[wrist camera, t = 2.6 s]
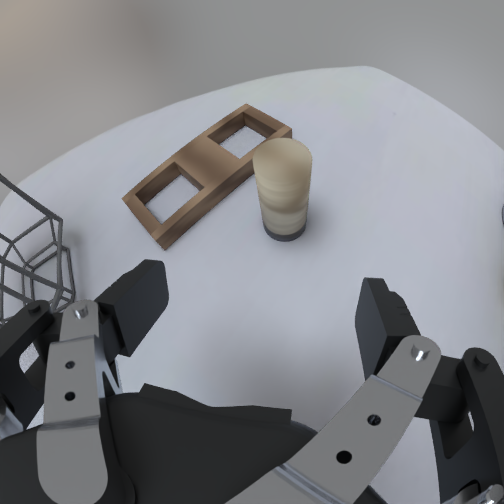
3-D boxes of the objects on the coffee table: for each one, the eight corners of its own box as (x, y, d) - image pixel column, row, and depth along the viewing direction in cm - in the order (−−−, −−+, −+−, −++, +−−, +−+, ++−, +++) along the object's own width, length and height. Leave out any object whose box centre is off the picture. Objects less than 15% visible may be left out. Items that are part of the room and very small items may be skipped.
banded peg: (283, 197, 30) (280, 130, 21) (314, 221, 29) (324, 157, 20) (254, 223, 30) (240, 160, 20) (285, 249, 28) (284, 192, 19)
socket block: (248, 116, 36) (246, 103, 34) (292, 142, 33) (291, 128, 31) (130, 209, 32) (121, 198, 30) (164, 250, 30) (155, 240, 27)
